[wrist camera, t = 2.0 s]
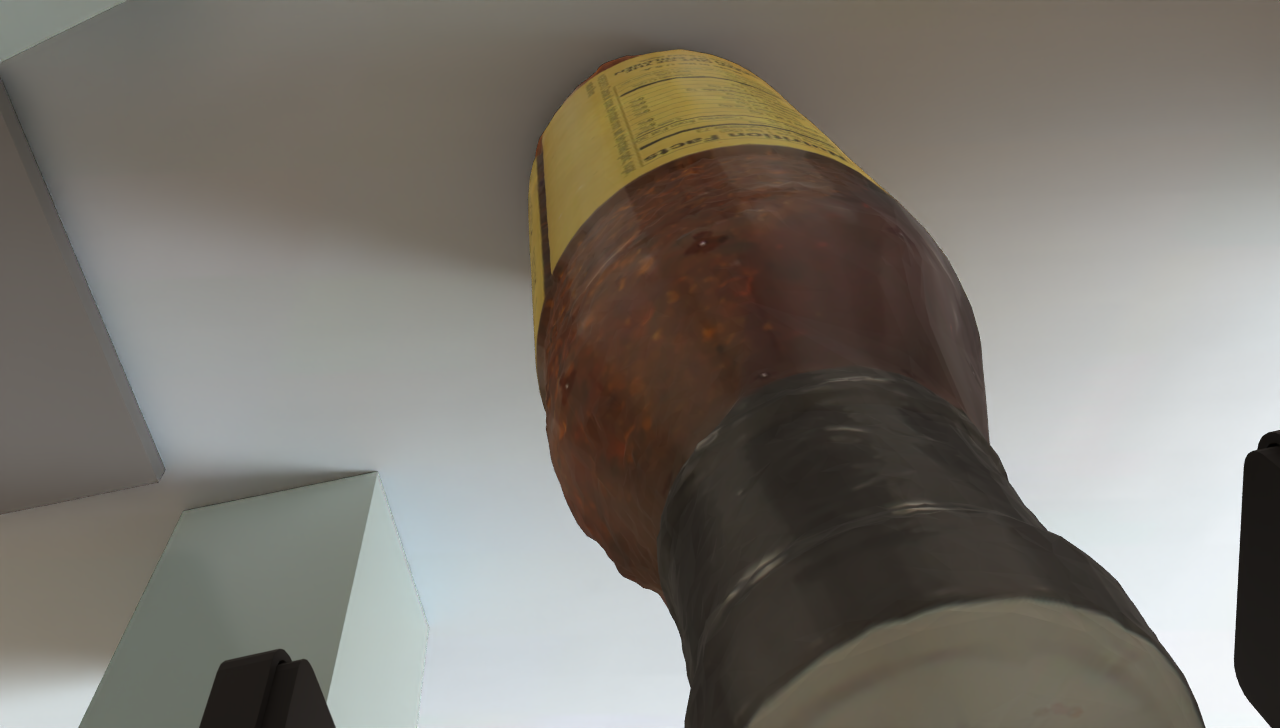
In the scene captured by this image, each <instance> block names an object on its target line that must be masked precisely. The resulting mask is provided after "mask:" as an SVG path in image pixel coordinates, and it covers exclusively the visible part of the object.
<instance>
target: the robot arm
mask: <svg viewBox="0 0 1280 728" xmlns="http://www.w3.org/2000/svg"><path fill="white" fill-rule="evenodd" d="M1234 668H1235V672H1236V677H1237V679H1238V682H1239V685H1240V687H1241V689H1242V691H1243V693H1244V695H1245V696H1246V698H1247V699H1248V700H1249V702H1250V703H1251V704H1252V705H1253V706H1254V708H1255V709H1256V710H1257V711H1258V712H1259V714H1260V715H1261V716H1262V717H1263V718H1264V720H1265V721H1266V722H1267V723H1268V724H1269V725H1270V727H1271V728H1280V430H1277V431H1273V432H1269V433H1267V434H1265V435H1264V436H1262V438H1261V440H1260V442H1259V444H1258V450H1255V451H1252V452H1250V453H1248V455H1247V457H1246V458H1245V463H1244V473H1243V493H1242V512H1241V532H1240V552H1239V571H1238V591H1237V610H1236V630H1235V650H1234ZM199 728H336V726H335V724H334V721H333V719H332V716H331V714H330V711H329V709H328V706H327V703H326V701H325V698H324V696H323V693H322V691H321V688H320V685H319V683H318V680H317V678H316V675H315V673H314V670H313V668H312V666H311V664H310V663H309V661H308V660H306V659H300V660H296V661H292V660H291V658H290V656H289V655H288V653H287V652H286V651H285V650H283V649H275V650H271V651H266V652H262V653H257V654H252V655H248V656H243V657H239V658H234V659H230V660H225V661H224V662H222V663H221V664H220V666H219V668H218V670H217V673H216V676H215V680H214V683H213V686H212V689H211V692H210V695H209V698H208V701H207V704H206V708H205V711H204V714H203V717H202V720H201V723H200V726H199Z"/></svg>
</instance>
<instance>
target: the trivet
mask: <svg viewBox="0 0 1280 728" xmlns="http://www.w3.org/2000/svg"><path fill="white" fill-rule="evenodd" d="M164 471H165V468H164V465H163V463H162V461H161V458H160V456H159V453H158V451H157V449H156V446H155V444H154V442H153V439H152V437H151V434H150V432H149V430H148V427H147V425H146V423H145V420H144V418H143V415H142V413H141V411H140V408H139V406H138V404H137V401H136V399H135V396H134V394H133V392H132V389H131V387H130V384H129V382H128V380H127V377H126V375H125V373H124V370H123V368H122V365H121V363H120V361H119V358H118V356H117V354H116V351H115V349H114V346H113V344H112V342H111V339H110V337H109V335H108V332H107V330H106V327H105V325H104V323H103V320H102V318H101V316H100V313H99V311H98V308H97V306H96V304H95V301H94V299H93V296H92V294H91V292H90V289H89V287H88V285H87V282H86V280H85V277H84V275H83V273H82V270H81V268H80V266H79V263H78V261H77V258H76V256H75V254H74V251H73V249H72V247H71V244H70V242H69V239H68V237H67V235H66V232H65V230H64V228H63V225H62V223H61V220H60V218H59V216H58V213H57V211H56V208H55V206H54V204H53V201H52V199H51V197H50V194H49V192H48V189H47V187H46V185H45V182H44V180H43V178H42V175H41V173H40V170H39V168H38V166H37V163H36V161H35V159H34V156H33V154H32V151H31V149H30V147H29V144H28V142H27V139H26V137H25V135H24V132H23V130H22V128H21V125H20V123H19V120H18V118H17V116H16V113H15V111H14V109H13V106H12V104H11V101H10V99H9V97H8V94H7V92H6V90H5V87H4V85H3V82H2V80H1V78H0V515H1V514H6V513H10V512H15V511H20V510H25V509H30V508H35V507H40V506H45V505H50V504H55V503H59V502H64V501H69V500H74V499H79V498H84V497H89V496H94V495H99V494H104V493H109V492H113V491H118V490H123V489H128V488H133V487H138V486H143V485H148V484H153V483H158V482H159V481H160V479H161V477H162V475H163V473H164Z"/></svg>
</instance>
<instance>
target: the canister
mask: <svg viewBox="0 0 1280 728" xmlns="http://www.w3.org/2000/svg"><path fill="white" fill-rule="evenodd" d="M428 632H429V626H428V623H427V620H426V617H425V614H424V611H423V608H422V605H421V602H420V599H419V595H418V592H417V589H416V586H415V583H414V580H413V577H412V574H411V571H410V568H409V565H408V562H407V559H406V556H405V553H404V550H403V547H402V544H401V541H400V537H399V534H398V531H397V528H396V525H395V522H394V519H393V516H392V513H391V510H390V507H389V504H388V501H387V498H386V495H385V492H384V489H383V486H382V483H381V480H380V476H379V473H378V472H373V473H368V474H363V475H358V476H353V477H348V478H343V479H338V480H333V481H329V482H324V483H319V484H314V485H309V486H304V487H299V488H294V489H289V490H284V491H279V492H275V493H270V494H265V495H260V496H255V497H250V498H245V499H240V500H235V501H230V502H226V503H221V504H216V505H211V506H206V507H201V508H196V509H191V510H186V511H183V513H182V515H181V517H180V519H179V521H178V523H177V525H176V527H175V529H174V531H173V533H172V535H171V537H170V539H169V541H168V544H167V546H166V548H165V550H164V552H163V554H162V556H161V558H160V560H159V562H158V564H157V566H156V568H155V570H154V572H153V575H152V577H151V579H150V581H149V583H148V585H147V587H146V589H145V591H144V593H143V595H142V597H141V599H140V601H139V603H138V606H137V608H136V610H135V612H134V614H133V616H132V618H131V620H130V622H129V624H128V626H127V628H126V630H125V632H124V634H123V636H122V639H121V641H120V643H119V645H118V647H117V649H116V651H115V653H114V655H113V657H112V659H111V661H110V663H109V665H108V667H107V670H106V672H105V674H104V676H103V678H102V680H101V682H100V684H99V686H98V688H97V690H96V692H95V694H94V696H93V698H92V701H91V703H90V705H89V707H88V709H87V711H86V713H85V715H84V717H83V719H82V721H81V723H80V725H79V727H78V728H199V726H200V723H201V720H202V717H203V714H204V711H205V708H206V704H207V701H208V698H209V695H210V692H211V689H212V686H213V683H214V680H215V676H216V673H217V670H218V668H219V666H220V664H221V663H222V662H224V661H225V660H230V659H234V658H239V657H243V656H248V655H252V654H257V653H262V652H266V651H271V650H275V649H283V650H285V651H286V652H287V653H288V655H289V656H290V658H291V660H292V661H296V660H300V659H306V660H308V661H309V663H310V664H311V666H312V668H313V670H314V673H315V675H316V678H317V680H318V683H319V685H320V688H321V691H322V693H323V696H324V698H325V701H326V703H327V706H328V709H329V711H330V714H331V716H332V719H333V721H334V724H335V726H336V728H417V725H418V717H419V708H420V700H421V691H422V683H423V674H424V666H425V657H426V649H427V640H428Z"/></svg>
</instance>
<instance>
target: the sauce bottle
mask: <svg viewBox="0 0 1280 728" xmlns="http://www.w3.org/2000/svg"><path fill="white" fill-rule="evenodd" d="M528 218H529V246H530V262H531V277H532V301H533V321H534V340H535V359H536V371H537V377H538V384H539V390H540V395H541V398H542V402H543V406H544V409H545V411H546V424H547V425H546V432H547V437H548V442H549V448H550V455H551V460H552V464H553V467H554V470H555V473H556V475H557V478H558V480H559V482H560V484H561V488H562V491H563V494H564V497H565V499H566V501H567V504H568V506H569V508H570V510H571V512H572V514H573V516H574V518H575V520H576V522H577V524H578V525H579V526H580V528H581V529H582V530H583V532H584V533H585V534H586V535H587V536H588V537H590V538H591V539H593V540H595V541H597V542H598V543H599V545H600V546H601V547H602V548H603V549H604V550H605V551H606V553H607V555H608V557H609V558H610V559H611V560H612V561H613V562H614V563H615V565H616V568H617V570H618V571H619V573H620V574H621V575H622V576H623V577H625V578H627V579H629V580H632V581H634V582H636V583H637V584H639V585H640V586H641V587H643V588H646V589H650V590H652V591H654V592H656V593H658V594H659V595H660V596H661V598H662V600H663V601H664V603H665V604H666V606H667V607H668V609H669V612H670V614H671V616H672V618H673V619H674V621H675V623H676V626H677V628H678V630H679V634H680V637H681V641H682V650H683V654H684V658H685V661H686V670H687V677H688V680H689V684H690V687H691V690H690V695H689V700H688V705H687V711H686V716H685V728H1205V725H1204V722H1203V719H1202V716H1201V713H1200V710H1199V707H1198V704H1197V702H1196V700H1195V697H1194V695H1193V693H1192V691H1191V689H1190V687H1189V685H1188V682H1187V680H1186V678H1185V676H1184V674H1183V673H1182V672H1181V670H1180V669H1179V667H1178V666H1177V665H1176V663H1175V662H1174V660H1173V659H1172V658H1171V656H1170V655H1169V653H1168V652H1167V651H1166V649H1165V648H1164V647H1163V646H1162V644H1161V643H1160V642H1159V640H1158V639H1157V637H1156V635H1155V633H1154V632H1153V631H1152V630H1151V629H1150V628H1149V626H1148V625H1147V623H1146V622H1145V620H1144V618H1143V617H1142V615H1141V614H1140V612H1139V611H1138V609H1137V608H1136V606H1135V605H1134V603H1133V602H1132V601H1131V600H1130V598H1129V597H1128V595H1127V594H1126V593H1125V591H1124V590H1123V588H1122V587H1121V585H1120V584H1119V582H1118V581H1117V580H1116V579H1115V578H1114V577H1113V576H1112V575H1111V574H1110V573H1108V572H1107V571H1106V570H1105V569H1104V568H1103V567H1102V566H1100V565H1099V564H1098V563H1097V562H1096V561H1094V560H1093V559H1092V558H1091V557H1090V556H1088V555H1087V554H1086V553H1084V552H1083V551H1081V550H1080V549H1078V548H1077V547H1076V546H1074V545H1073V544H1071V543H1070V542H1068V541H1067V540H1065V539H1064V538H1063V537H1061V536H1059V535H1056V534H1054V533H1051V532H1049V531H1047V529H1046V528H1045V527H1044V526H1043V525H1042V524H1041V523H1040V522H1039V521H1038V519H1037V517H1036V516H1035V515H1034V514H1033V513H1032V512H1031V511H1030V510H1029V509H1028V508H1027V507H1026V506H1025V505H1024V504H1023V502H1022V500H1021V499H1020V497H1019V496H1018V494H1017V493H1016V491H1015V490H1014V488H1013V487H1012V486H1011V484H1010V483H1009V481H1008V478H1007V474H1006V472H1005V469H1004V467H1003V465H1002V463H1001V460H1000V458H999V456H998V455H997V453H996V452H995V451H994V450H993V448H992V447H991V446H990V442H989V430H988V418H987V406H986V395H985V384H984V374H983V363H982V350H981V342H980V336H979V332H978V328H977V325H976V321H975V317H974V314H973V310H972V307H971V305H970V303H969V300H968V298H967V296H966V294H965V292H964V290H963V287H962V285H961V283H960V281H959V279H958V277H957V275H956V273H955V272H954V270H953V268H952V266H951V264H950V262H949V260H948V258H947V257H946V256H945V254H944V253H943V252H942V250H941V249H940V248H939V247H938V245H937V244H936V243H935V241H934V240H933V239H932V237H931V236H930V235H929V233H928V232H927V231H926V229H925V228H924V227H923V226H922V225H921V224H920V223H919V222H918V221H917V220H916V219H915V218H914V217H913V216H912V215H911V214H910V213H909V212H908V211H907V210H906V209H905V208H904V207H903V206H902V205H901V204H900V203H899V202H898V201H897V200H896V199H895V198H893V197H892V196H891V195H890V194H888V193H887V192H886V191H885V190H884V189H883V188H882V187H881V186H879V185H878V184H877V183H876V182H875V181H874V180H873V179H872V178H871V177H869V176H868V175H867V174H866V173H865V172H864V171H863V170H862V169H860V168H859V167H858V166H857V165H856V164H855V163H854V162H853V161H851V160H850V159H849V158H848V157H847V156H846V155H845V154H844V153H843V152H842V151H841V150H840V149H839V148H838V147H837V146H836V145H835V144H834V143H833V142H832V141H831V140H830V139H829V138H828V137H827V136H826V135H824V134H823V133H822V132H821V131H820V130H819V129H818V128H817V127H816V126H815V125H814V124H813V123H811V122H810V121H809V120H808V119H807V118H805V117H804V116H803V115H802V114H801V113H799V112H798V111H797V110H796V109H795V108H794V107H793V106H792V105H791V104H790V103H788V102H787V101H786V100H785V99H784V98H783V97H782V96H781V95H780V94H779V93H778V92H777V91H775V90H774V89H773V88H772V87H771V86H769V85H768V84H767V83H766V82H765V81H763V80H762V79H760V78H759V77H758V76H756V75H755V74H753V73H752V72H750V71H748V70H747V69H745V68H743V67H741V66H739V65H738V64H735V63H733V62H730V61H728V60H726V59H723V58H720V57H717V56H714V55H711V54H706V53H700V52H694V51H689V50H683V49H677V50H670V51H662V52H653V53H648V54H644V55H636V56H624V57H621V58H618V59H616V60H613V61H610V62H607V63H604V64H603V65H601V66H600V67H599V68H598V69H597V71H596V72H595V73H594V74H593V75H592V76H591V77H589V78H588V79H587V80H585V81H584V82H583V83H581V84H580V85H579V86H577V88H576V89H575V90H574V91H573V92H572V93H571V95H570V96H569V97H568V98H567V99H566V100H565V101H564V103H563V104H562V106H561V107H560V109H559V110H558V111H557V112H556V113H555V114H554V117H553V118H552V120H551V121H550V123H549V125H548V126H547V128H546V129H545V131H544V132H543V134H542V135H541V137H540V139H539V142H538V146H537V149H536V155H535V160H534V162H533V166H532V170H531V175H530V182H529V194H528Z"/></svg>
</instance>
